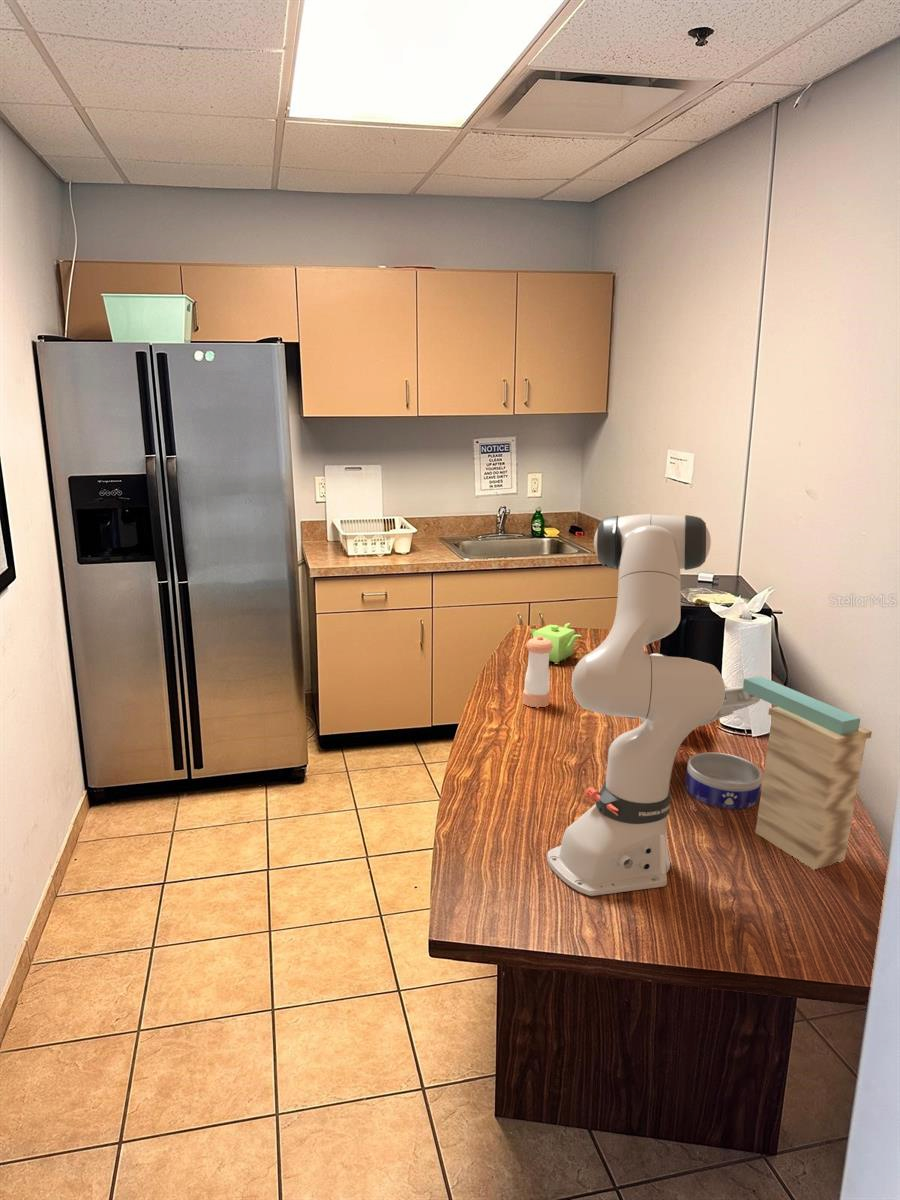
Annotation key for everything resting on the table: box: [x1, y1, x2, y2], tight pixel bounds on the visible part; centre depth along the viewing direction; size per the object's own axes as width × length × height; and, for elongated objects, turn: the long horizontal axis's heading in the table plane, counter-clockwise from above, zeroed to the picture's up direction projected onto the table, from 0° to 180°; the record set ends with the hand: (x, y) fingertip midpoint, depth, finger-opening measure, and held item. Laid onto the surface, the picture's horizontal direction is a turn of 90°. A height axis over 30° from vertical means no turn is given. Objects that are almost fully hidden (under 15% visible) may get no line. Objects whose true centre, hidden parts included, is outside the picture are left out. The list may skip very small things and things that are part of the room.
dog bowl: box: [685, 751, 763, 810], centre depth 176 cm, size 15×15×6 cm
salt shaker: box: [522, 636, 553, 708], centre depth 220 cm, size 7×7×19 cm
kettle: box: [529, 622, 583, 664], centre depth 258 cm, size 15×14×11 cm
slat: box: [742, 675, 861, 735], centre depth 153 cm, size 4×23×2 cm, turn 26°
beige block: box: [754, 706, 873, 871], centre depth 153 cm, size 9×15×26 cm, turn 26°
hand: (741, 694), depth 166 cm, fingers open, 8 cm apart
